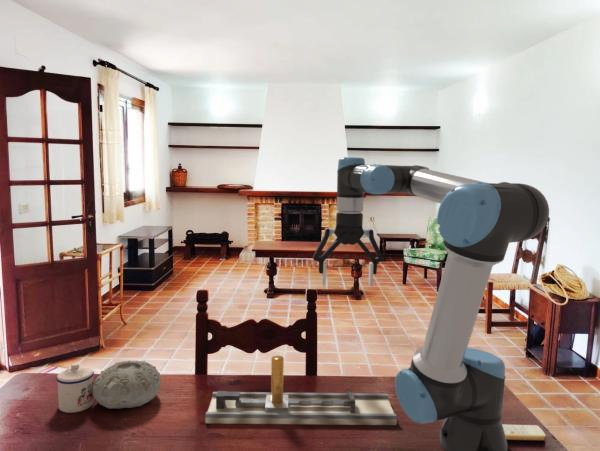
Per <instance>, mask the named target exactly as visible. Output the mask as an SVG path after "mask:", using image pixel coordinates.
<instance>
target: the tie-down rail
mask: <svg viewBox="0 0 600 451" xmlns="http://www.w3.org/2000/svg"><path fill="white" fill-rule="evenodd" d="M266 394H267V395H271V391H270V392H269V391H268V392H265V391H264V392H263V391H262V392H261V391H260V392H259V391H252V392H251V391H226V390H217V391H213V392H212V397H211V400H210V403H209V406H208V409H207V411H206V412H205V424H223V425H224V424H226V425H227V424H228V425H229V424H233V425H235V424H236V425H238V424H241V425H242V424H247V425H250V424H252V425H332V426H333V425H334V426H335V425H340V426H341V425H342V426H343V425H344V426H345V425H351V426H354V425H355V426H356V425H357V426H359V425H360V426H361V425H362V426H364V425H366V426H397V424H398V422H397V420H398V419H397V417H398V416H397V414H396V413H395V412H394V410H393V407H392V405H391V402H390V399H389V393H364V392H363V393H361V392H358V393H355V392H353V390H348V391H347V393H346V392H343V393H341V392H338V393H337V392H283V395H288V400H299V399H310V400H350V406H311V405H310V406H299V405H288V412H265V407H235V402H236V400H239V399H266Z"/></svg>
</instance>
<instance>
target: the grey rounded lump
mask: <svg viewBox="0 0 600 451" xmlns="http://www.w3.org/2000/svg"><path fill="white" fill-rule="evenodd" d="M161 386H162V378H161V372H159V370H158V369H157V367H156V366H155V365H153V364H151V363H149V362H147V361H145V360H124V361H119V362H115V363H114V364H112V365H110V366H108V367H107V368H105V369H104V370H101V371H100V374H99V375H98V376H97V377H96V378H95V381H93V388H92V392H93V396H94V400H96V402H97V403H98V404H99V405H100V406H103V407H105V408H106V409H109V410H110V409H117V410H118V409H125V408H126V409H132V408H137V407H142V406H143V405H145V404H147V403H149V402H150V401H152V400H153V399H155V397H156V396H157V394H158V393H159V391H160V390H161Z"/></svg>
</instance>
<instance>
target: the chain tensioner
mask: <svg viewBox="0 0 600 451" xmlns="http://www.w3.org/2000/svg"><path fill="white" fill-rule="evenodd" d="M284 359H285V358H284V356H282V355H273V356H272V357H271V368H270V369H271V371H270V372H271V375H270V376H271V378H270V384H271V385H270V392H271V395H267V394H266V399H239V400H236V402H235V407H265V412H288V405H299V406H310V405H311V406H350V400H310V399H299V400H288V395H283V393H284V367H285V366H284V363H285V362H284Z"/></svg>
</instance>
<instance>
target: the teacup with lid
mask: <svg viewBox="0 0 600 451" xmlns="http://www.w3.org/2000/svg"><path fill="white" fill-rule="evenodd" d="M94 374H95V372H94V370H93V369H92V368H91V367H89V366H84V365H83V366H82V365H80V364H79V363H78V362H74V363H71V365H70V367H68V368H65V369H63V370H61V371H60V372H59V373H58V374H57V376H56V377H55V378H56V381H57V395H58V397H57V398H58V409H59V410H60V412H63V413H69V414H72V413H79V412H83V411H85V410H88V409H89V408H91V407H92V406H93V405H94V402H95V398H94V396H93V392H92V388H93V385H94Z"/></svg>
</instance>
